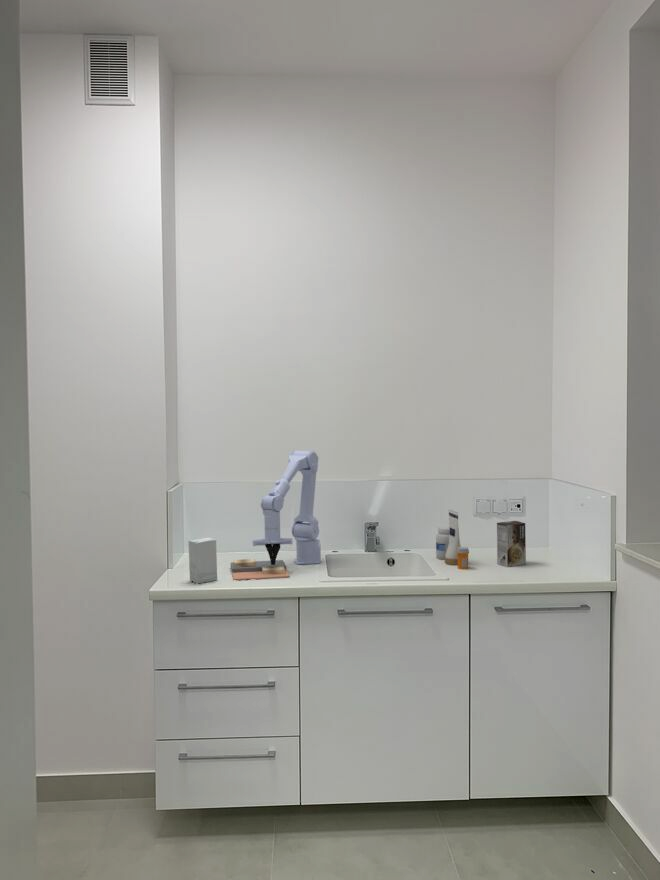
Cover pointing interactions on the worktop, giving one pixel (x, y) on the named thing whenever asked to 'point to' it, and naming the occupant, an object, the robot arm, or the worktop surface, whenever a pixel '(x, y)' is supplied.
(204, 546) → the skincare box
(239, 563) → the outer tile
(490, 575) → the worktop surface
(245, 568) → the grey board
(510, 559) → the coffee box
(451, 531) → the toiletry set
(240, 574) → the mat
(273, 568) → the inner tile
